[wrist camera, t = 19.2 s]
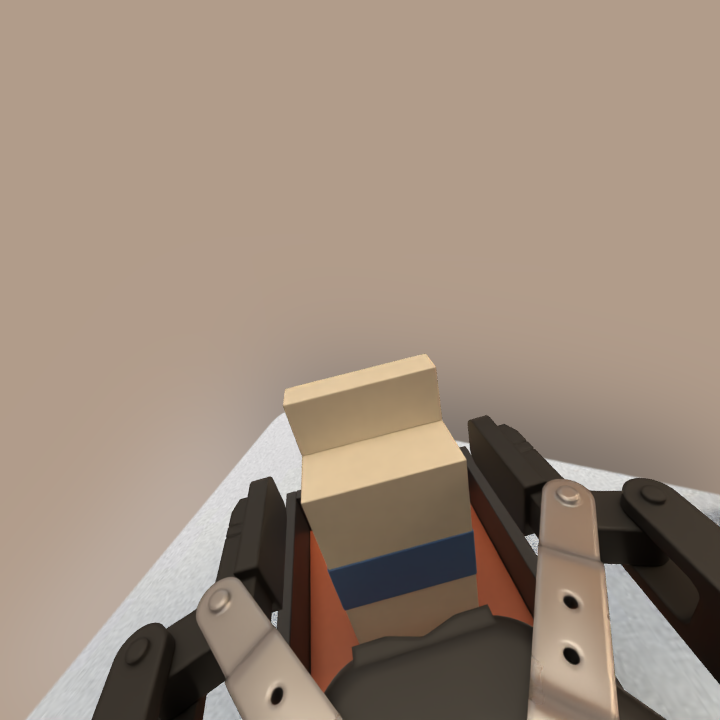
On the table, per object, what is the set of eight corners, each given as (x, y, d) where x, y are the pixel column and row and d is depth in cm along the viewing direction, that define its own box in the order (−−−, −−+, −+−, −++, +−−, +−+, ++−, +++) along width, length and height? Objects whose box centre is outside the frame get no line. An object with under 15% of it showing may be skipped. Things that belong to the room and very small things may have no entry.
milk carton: (370, 674, 16) (274, 448, 10) (355, 559, 21) (286, 363, 15) (483, 641, 16) (464, 399, 10) (441, 536, 21) (410, 332, 15)
